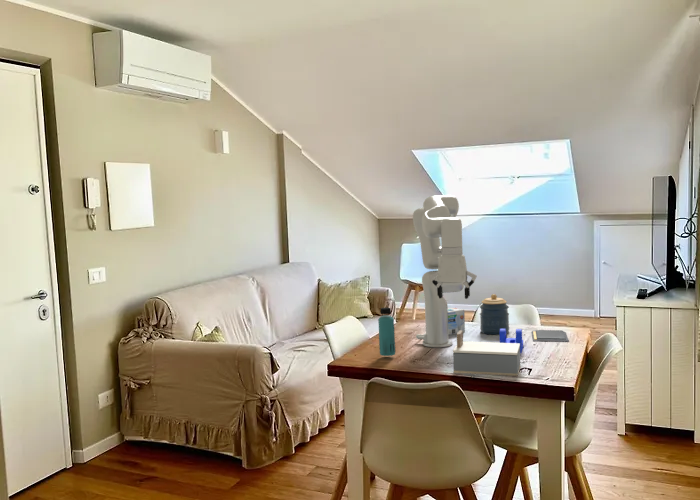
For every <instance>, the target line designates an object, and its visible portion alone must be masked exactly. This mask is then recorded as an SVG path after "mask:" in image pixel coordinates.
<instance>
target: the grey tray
mask: <svg viewBox="0 0 700 500" xmlns="http://www.w3.org/2000/svg"><path fill="white" fill-rule="evenodd" d="M452 362H453V363H452V364H453V365H452V366H453V373H454V374H455V373H456V374H470V373H471V374H472V375H473V374H474V375H491V376H492V375H493V376H509V377H510V376H512V377H519V372H520V368H521V353H520V347H519V351H518V354H517V355H501V354H477V353H454V352H452Z"/></svg>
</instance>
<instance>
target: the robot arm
mask: <svg viewBox="0 0 700 500" xmlns="http://www.w3.org/2000/svg"><path fill="white" fill-rule="evenodd" d="M422 206H423V207H420V208H417V209H415V210H414V211H413V213H412V223H413V228H414V230H415V233H416V235H417V237H418V239H419V242H420V251H421V257H422V259H421V260H422V264H423V267H424V268H425V269H427V270H429V271H427V272H424V273H423V275H422V277H421V285H422V288H423V289H422V290H423V296H424V297H423V298H424V314H425V315H424V316H425V317H424V318H425V319H424V320H425V333H423V334H421V333H420V334H419V333H416V334H415V335H416V336H415V337H416V339H417V340H423V341H422V345H423V346H424V347H427V348H445V347H450V346H452V345H453V341H452V340H451V339H449V338H450V337H449V335H448V309H449V307H448V302H447V300H446V299H445V298H444V294H446V293H460V292H462V291H463V289H464V299H466V300H467V299H469V297H470V295H471V292H470V291H471V289H470V288H471V286H472V285H473V284H474V283H475V281H476V279H477V275H476V274H474V273H473V272H470V271H469V270H468V268H467V262H466V256H465V254H463V223H462V220H461V219H460V218H459V217H457V215H458V213H459V209H460V204H459V201H458V198H457V197H456V196H455V195H452V194H445V195H442V194H440V195H431V196H428V197H426V198H425V199H424V201H423V205H422ZM440 238H441V239H440ZM468 277H471V279H470V281H468ZM464 286H465V287H464Z"/></svg>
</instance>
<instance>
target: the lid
mask: <svg viewBox="0 0 700 500" xmlns="http://www.w3.org/2000/svg"><path fill="white" fill-rule="evenodd" d="M519 347H520V343H500V342H489V341H488V342H487V341H464V333H463V331H459V332H458V333H457V334H456V345H455V346H454V348H453V350H452V353H477V354H501V355H517V354H518V351H519Z"/></svg>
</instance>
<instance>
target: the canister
mask: <svg viewBox="0 0 700 500" xmlns="http://www.w3.org/2000/svg"><path fill="white" fill-rule="evenodd" d="M507 302H508V301H507V300H505V299H504V298H502V297H498V295H497V294H496V293H492V294H491V296H490V297H486V298H484V299H483V300H481V303H482V304H480V305H479V309H480V313H479V315H480V328H479V329H480V333H481V334H485V335H492V336H493V335H496V336H498V335H499V336H500V329H506V334H508V333H509V331H510V323H509V322H510V321H509V320H510V316H509V315H510V313H509V310H508V309H509V308H510V306H509V305H508V304H507Z"/></svg>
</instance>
